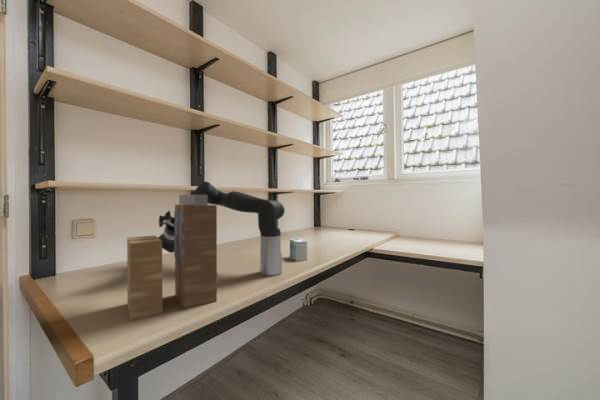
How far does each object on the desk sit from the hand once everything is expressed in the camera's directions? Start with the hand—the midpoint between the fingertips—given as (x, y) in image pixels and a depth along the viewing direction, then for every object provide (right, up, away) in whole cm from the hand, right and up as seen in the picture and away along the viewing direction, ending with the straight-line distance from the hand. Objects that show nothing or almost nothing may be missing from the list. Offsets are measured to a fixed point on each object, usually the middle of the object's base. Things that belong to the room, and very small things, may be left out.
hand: (180, 212), depth 106 cm
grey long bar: (+11, +4, -14) cm, 18 cm away
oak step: (0, -29, -25) cm, 38 cm away
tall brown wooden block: (+13, -29, -17) cm, 36 cm away
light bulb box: (+48, -28, +40) cm, 69 cm away
